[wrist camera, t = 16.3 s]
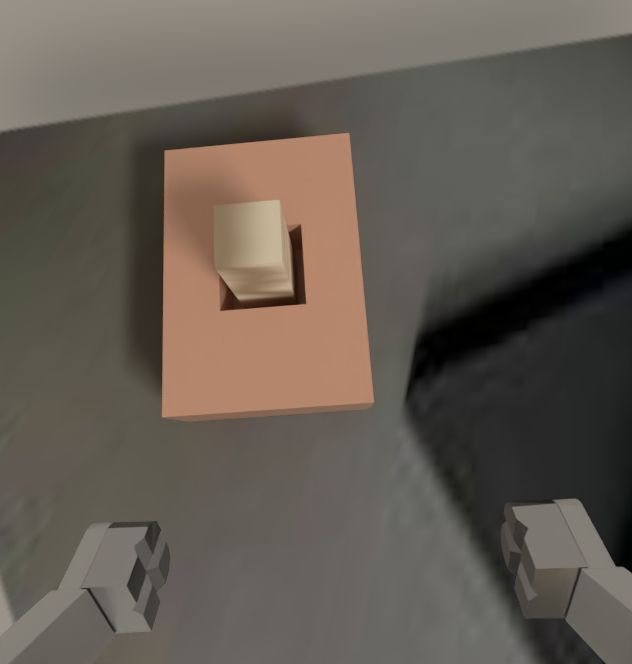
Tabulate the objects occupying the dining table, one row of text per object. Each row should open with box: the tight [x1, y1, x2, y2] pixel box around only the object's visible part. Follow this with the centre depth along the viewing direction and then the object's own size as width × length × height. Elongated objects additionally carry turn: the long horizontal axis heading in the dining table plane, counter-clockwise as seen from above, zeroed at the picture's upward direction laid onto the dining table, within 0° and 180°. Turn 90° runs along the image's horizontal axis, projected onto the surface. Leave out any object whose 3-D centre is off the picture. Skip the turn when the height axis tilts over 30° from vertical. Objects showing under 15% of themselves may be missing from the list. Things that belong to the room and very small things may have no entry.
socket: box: [162, 133, 374, 422], centre depth 37 cm, size 14×20×6 cm
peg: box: [214, 200, 299, 309], centre depth 34 cm, size 4×4×10 cm
